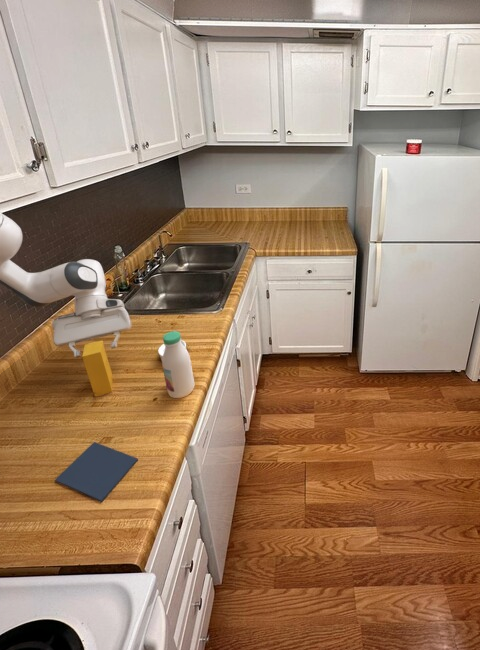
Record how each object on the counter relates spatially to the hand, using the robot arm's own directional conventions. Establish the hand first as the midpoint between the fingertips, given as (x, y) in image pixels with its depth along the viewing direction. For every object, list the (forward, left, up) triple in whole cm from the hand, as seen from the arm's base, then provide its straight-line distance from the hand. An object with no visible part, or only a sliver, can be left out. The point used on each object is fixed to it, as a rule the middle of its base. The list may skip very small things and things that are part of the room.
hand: (96, 352), depth 100 cm
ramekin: (+13, +16, -11) cm, 24 cm away
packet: (+2, -2, -11) cm, 12 cm away
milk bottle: (+25, +5, -11) cm, 28 cm away
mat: (+23, -22, -11) cm, 34 cm away
